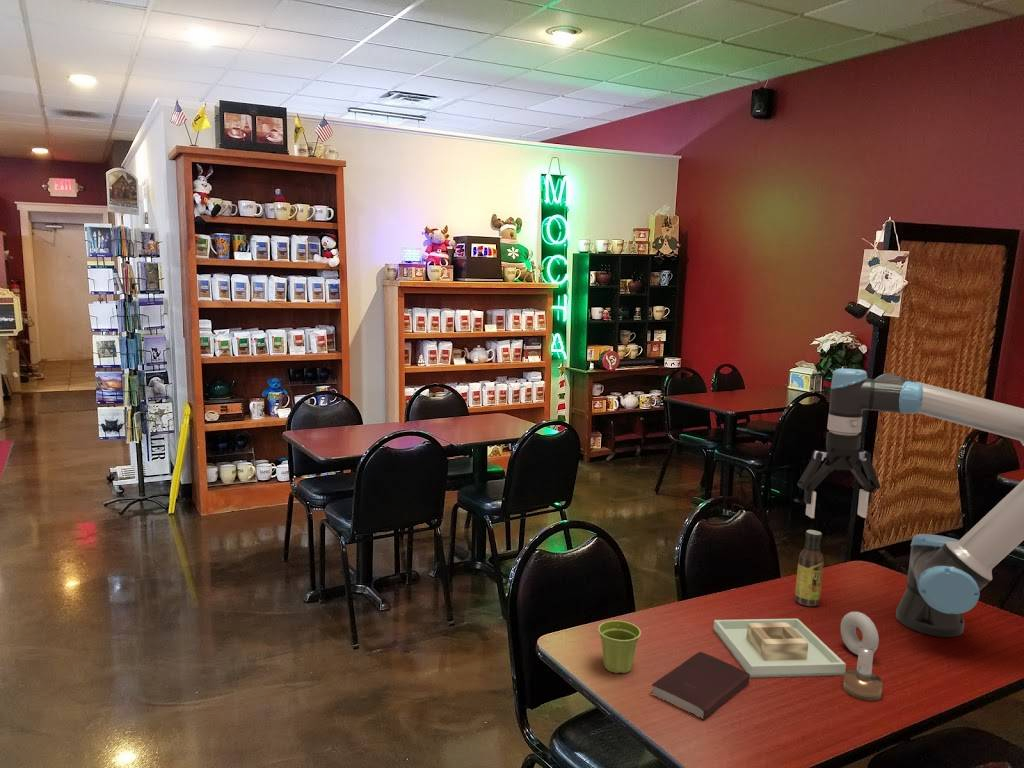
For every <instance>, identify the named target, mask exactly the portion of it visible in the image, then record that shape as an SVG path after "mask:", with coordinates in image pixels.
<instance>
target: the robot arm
mask: <svg viewBox="0 0 1024 768" xmlns="http://www.w3.org/2000/svg"><path fill="white" fill-rule="evenodd" d="M830 384H831V385H830V392H829V395H830V396H829V407H828V417H827V426H826V428H827V430H829V431H827V432H826V438H825V439H826V440H825V451H819V450H816V449H815V450H813V451H812V453H811V454H812V455H811V459H810V461H809V462H808V464H807V466H806V468H805V469H804V471H803V473H802V475H801V476H800V478H799V480H798V482H797V484H796V486H797V487H799V488H801V489H802V490H804V494H803V502H804V504H806V505H805V507H806V508H805V515H806V516H808V517H809V518H811V519H815V512H816V511H815V510H816V501H817V492H816V491H815V490H816V488H817V487H818V486H819V485H820V484H821V483H822V482H823V481H824V479H825V478H827V476H828V475H829V474H830V473H832V472H834V470H836V471H849V470H850V472H851V474H853V476H854V478H855V479H856V480H857V482H858V483H859V484H860V486H861V487H862V488H863V489H862V488H860V489H859V493H858V505H857V512H856V513H857V515H858V516H860V517H861V518H863V519H867V516H868V505H869V504H871V502H872V493H875V492H876V490H879V489H881V484H880V481H879V478H878V475H877V474H876V471H875V468H874V466H873V463H872V454H871V452H869V451H866V450H860V452H859V449H860V448H861V437H862V436H861V435H860V433H861V432H862V425H863V415H864V411H865V410H866V411H876V412H887V413H895V414H902V415H905V414H908V415H909V414H912V415H913V414H914V415H915V414H920V415H924V416H928V417H932V418H936V419H938V420H943V421H947V422H951V423H953V424H958V425H961V426H965V427H969V428H972V429H975V430H979V431H983V432H985V433H986V432H987V433H990V434H993V435H994V434H995V435H998V436H1002V437H1005V438H1009V439H1012V440H1016V441H1019V442H1020V444H1021V445H1022V446H1023V447H1024V408H1022V407H1019V406H1014V405H1010V404H1007V403H1002V402H998V401H994V400H991V399H988V398H984V397H979V396H976V395H975V396H974V395H971V394H968V393H964V392H959V391H955V390H951V389H947V388H945V387H944V388H943V387H940V386H936V385H932V384H928V383H924V382H920V381H915V380H912V379H910V378H909V379H908V378H904V377H900V376H898V375H897V374H893V373H884V374H881V375H879V376H877V377H876V378H874V379H872V378H868V374H867V371H866V370H864V369H855V368H837V369H835V370H834V371H833V372H832V379H831V383H830ZM824 459H825V461H824ZM858 460H860V463H861V465H862V467H863V470H864V473H865V474H863V472H862V471H861V468H860V467H859V466H858V464H857V462H858ZM822 461H824V462H823V463H822ZM821 463H822V464H821ZM819 467H820V468H819ZM865 475H866V476H865ZM866 477H867V478H866ZM1023 541H1024V479H1022V481H1020V482H1019V483H1018V484H1017V485H1016V486H1015V487H1014V488H1013V489H1012V490H1010V492H1009V493H1007V494H1006V495H1005V497H1003V498H1001V500H1000V501H999V502H998V503H997V504H996V505H995V506H994V507H993V508H992V509H991V510H989V511H988V512H987V513H986V514H985V516H983V517H982V518H981V519H980V520H979V521H978V522H977V523H976V524H975V525H974V526H973V527H971V529H969V531H967V532H966V533H965V534H964V535H963V536H962V537H961V538H960V539H957V538H952V537H949V536H944V535H938V534H930V533H928V534H927V533H918V534H914V535H913V537H912V540H911V543H910V556H909V563H908V572H907V581H906V590H905V592H904V593H903V595H902V597H901V599H900V601H899V603H898V605H897V606H896V611H895V619H896V620H897V621H898V622H899V623H900V624H902V625H903V626H905V627H907V628H908V629H911V630H913V631H915V632H918V633H922V634H926V635H929V636H934V637H941V638H954V637H959V636H961V635H963V633H964V632H965V631H964V630H965V619H964V617H963V614H964V613H967V612H969V611H971V610H972V609H973V608H975V606H976V605H977V603H978V602H979V599H980V594H981V590H983V588H984V587H986V586H987V585H988V584H989V583H990V582H991V581H992V580H993V573H992V571H993V569H994V568H995V567H997V565H998V564H999V563H1000V562H1001V561H1002V560H1004V559H1005V558H1006V557H1007V556H1008V555H1009V554H1010V553H1011V552H1013V551H1014V549H1016V548H1017V547H1018V546H1019V545H1020V544H1021V543H1022V542H1023Z"/></svg>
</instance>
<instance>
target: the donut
mask: <svg viewBox="0 0 1024 768" xmlns="http://www.w3.org/2000/svg"><path fill="white" fill-rule="evenodd" d="M857 628H858V629H859V630H860V632H861V635H862V639H861V640H860V639H859V637H858V635H857V630H856V629H857ZM877 629H878V628H877V627H876V625H875V623H874V622H873V621H872V619H871V618H870V617H869V616H868V615H866V614H865V613H862V612H860V611H850V612H848V613H846V614H844V616H843V618H842V619H841V622H840V635H841V638H842V641H843V643H844V645H845V646H846V647H847V649H848V650H849V651H850V652H851V653H853V654H854V655H857V656H858V653H859V647H860V646H868V647H870V648H872V649H873V650H874V653H875V652H876V651H877V649H878V646H879V644H880V642H879V641H880V639H879V632H878V630H877Z"/></svg>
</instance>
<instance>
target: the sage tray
mask: <svg viewBox="0 0 1024 768" xmlns="http://www.w3.org/2000/svg"><path fill="white" fill-rule="evenodd" d="M713 621H714V622H713V631H714V632H715V633H716V635H717V636H718V637H719V639H720V640H721V642H722V643H723V644H724V646H726V648H727V649H728V650H729V652H730V653H731V654H732V656H733V657H734V659H736V661H737V662H738V664H739V665H740V666H741V667H742V668H743V671H745V672H747V673H749V674H750V679H751V678H788V677H789V678H791V677H822V676H823V677H826V676H829V677H830V676H845V671H846V668H847V664H846V662H844V661H843V660H842V659H841V658H840V657H839V656H838V655H837V654H836V653H835V652H834V651H833V650H831V648H830V647H828V646H827V645H826V644H825V642H823V641H822V640H821V639H820V638H819V637H818V636H817V635H816V634H815V633H814V632H812V630H811V629H810V628H808V627H807V626H806V625H805V624H804V623H803V622H802V621H801V620H800V619H799V618H759V619H758V618H756V619H755V618H753V619H748V618H747V619H714V620H713ZM781 622H788V623H789V624H790V625H791V626H792V627H793V628H794V629H795V630H796V631H797V632H798V633H799V634H800V635H801V636H802V637H803V638H804V639H805V640H806V641H807V642H808V653H807V660H770V661H765V660H764V659H763V658H762V657H761V656H760V654H759V653H758V652H757V651H756V650H755V648H754V647H753V646H752V645H751V644H750V643H749V641H748V640H747V639H746V636H747V623H781Z"/></svg>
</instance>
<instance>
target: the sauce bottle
mask: <svg viewBox="0 0 1024 768" xmlns="http://www.w3.org/2000/svg"><path fill="white" fill-rule="evenodd" d="M822 538H823V533H822V532H821V531H819V530H814V529H807V530H805V543H804V548H803V549H802V550H801V551H800V553H799V556H798V563H797V571H796V582H795V590H794V594H795V598H794V599H795V600H794V601H795V602H796V603H798V604H800V605H803V606H807V607H816V606H818V605H819V603H820V599H821V593H822V584H823V582H822V581H823V571H824V564H825V563H824V562H825V561H824V555H823V554H822V552H821V541H822Z"/></svg>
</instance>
